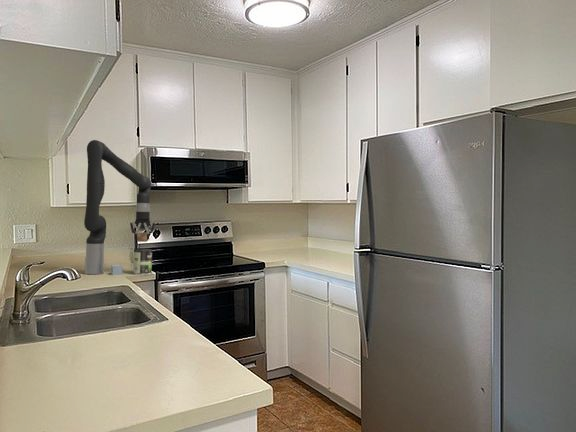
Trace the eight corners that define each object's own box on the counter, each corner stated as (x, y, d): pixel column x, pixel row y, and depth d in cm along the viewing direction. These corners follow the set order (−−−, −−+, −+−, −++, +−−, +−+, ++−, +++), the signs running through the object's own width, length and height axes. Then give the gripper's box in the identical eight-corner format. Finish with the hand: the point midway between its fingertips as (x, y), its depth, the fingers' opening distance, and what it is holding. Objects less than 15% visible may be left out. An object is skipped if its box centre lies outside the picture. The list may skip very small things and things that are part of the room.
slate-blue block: (112, 275, 241) (112, 266, 241) (111, 273, 246) (111, 265, 245) (122, 274, 244) (122, 265, 244) (120, 273, 248) (120, 264, 248)
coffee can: (154, 272, 254) (154, 249, 254) (148, 275, 244) (148, 250, 244) (136, 272, 254) (137, 248, 254) (130, 274, 244) (130, 250, 244)
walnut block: (137, 241, 244) (137, 232, 244) (137, 240, 249) (138, 232, 249) (146, 241, 245) (146, 232, 245) (146, 241, 250) (147, 232, 250)
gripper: (129, 210, 241) (128, 241, 242) (155, 211, 245) (155, 241, 246) (130, 210, 248) (129, 240, 249) (156, 211, 252) (155, 240, 253)
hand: (142, 240), depth 247 cm, fingers closed on walnut block, 5 cm apart
